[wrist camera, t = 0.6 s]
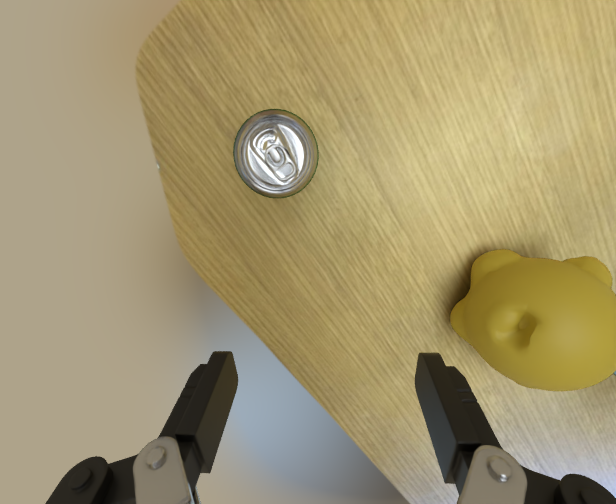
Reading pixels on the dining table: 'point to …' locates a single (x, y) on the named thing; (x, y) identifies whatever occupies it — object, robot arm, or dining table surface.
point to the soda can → (275, 153)
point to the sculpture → (541, 319)
